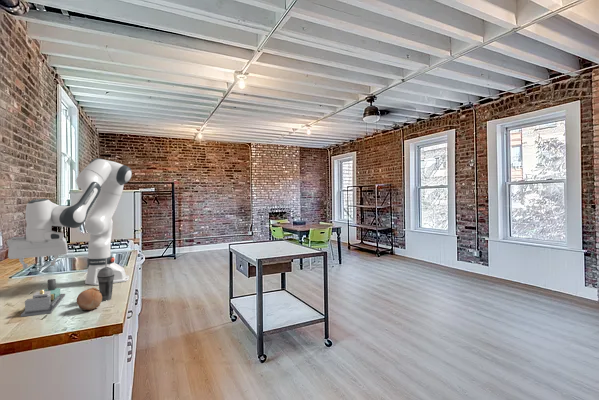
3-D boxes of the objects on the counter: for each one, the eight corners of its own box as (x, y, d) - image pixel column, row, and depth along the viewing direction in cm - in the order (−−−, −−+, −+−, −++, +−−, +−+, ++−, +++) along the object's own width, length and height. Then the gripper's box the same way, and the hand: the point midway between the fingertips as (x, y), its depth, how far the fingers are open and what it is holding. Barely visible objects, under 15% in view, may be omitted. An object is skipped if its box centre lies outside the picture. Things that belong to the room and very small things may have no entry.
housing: (47, 307, 137) (47, 291, 137) (32, 309, 135) (32, 292, 135) (50, 303, 141) (50, 288, 141) (36, 305, 139) (36, 289, 139)
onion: (94, 312, 142) (101, 290, 146) (101, 311, 136) (108, 288, 141) (70, 310, 136) (78, 286, 140) (76, 309, 130) (85, 284, 134)
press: (65, 295, 156) (65, 283, 156) (50, 313, 133) (50, 299, 133) (39, 298, 152) (39, 286, 152) (20, 317, 129) (20, 302, 128)
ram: (60, 294, 155) (60, 278, 155) (54, 300, 146) (54, 283, 146) (45, 295, 153) (45, 279, 153) (38, 302, 143) (38, 285, 143)
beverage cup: (96, 302, 146) (96, 260, 146) (97, 298, 153) (98, 257, 153) (114, 300, 150) (114, 259, 149) (115, 296, 156) (115, 256, 156)
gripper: (5, 238, 129) (5, 271, 129) (66, 234, 140) (67, 265, 141) (8, 236, 134) (9, 268, 135) (67, 233, 146) (68, 262, 146)
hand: (39, 266), depth 138 cm, fingers open, 8 cm apart
